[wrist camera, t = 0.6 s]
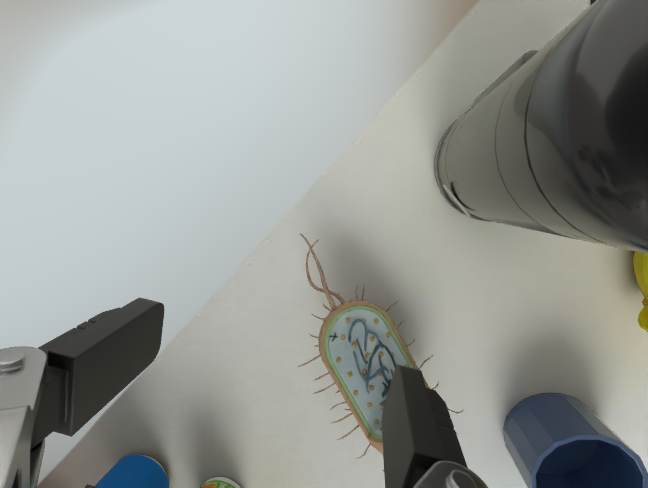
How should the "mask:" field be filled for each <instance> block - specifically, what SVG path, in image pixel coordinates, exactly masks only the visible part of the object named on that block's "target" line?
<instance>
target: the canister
mask: <svg viewBox="0 0 648 488" xmlns="http://www.w3.org/2000/svg"><path fill="white" fill-rule="evenodd" d="M504 441H505V445H506V447H507V449H508V451H509V453H510V455H511V457H512V459H513V461H514V463H515V465H516V466H517V468H518V470H519V472H520V474H521V476H522V478H523V479H524V481H525V483H526V485H527V487H528V488H648V472H647V470H646V468H645V466H644V464H643V462H642V460H641V458H640V457H639V455H638V454H636V453H635V452H634V451H633V450H632V449H631V448H630V447H629V446H628V445H627V444H626V443H625V442H624V441H623V440H622V439H621V438H620V437H619V436H618V435H617V434H616V433H615V432H614V431H613V430H612V429H611V428H610V427H609V426H608V425H607V424H606V423H605V422H604V421H603V420H601V419H600V418H599V417H598V416H597V415H596V414H595V413H594V412H593V411H592V410H590V409H589V408H588V407H587V406H586V405H585V404H584V403H582V402H581V401H579V400H577V399H575V398H573V397H571V396H568V395H564V394H559V393H543V394H538V395H534V396H531V397H529V398H527V399H525V400H523V401H522V402H520V403H519V404H518V405H516V406H515V408H514V409H513V410H512V411H511V412H510V414H509V415H508V417H507V419H506V422H505V426H504Z"/></svg>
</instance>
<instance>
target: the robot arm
mask: <svg viewBox="0 0 648 488" xmlns="http://www.w3.org/2000/svg"><path fill="white" fill-rule="evenodd" d="M591 3H592V5H591V6H589V7H588V8H587V9H586V10H585V11H584V12H583V13H581V14H580V15H579V16H578V17H577V18H576V19H575V20H574V21H573V22H571V23H570V24H569V25H568V26H567V27H566V28H564V29H563V30H562V31H561V32H560V33H559V34H557V35H556V36H555V37H554V38H553V39H552V40H551V41H549V42H548V43H547V44H546V45H545V46H544V47H543V48H542V49H541V50H539V51H529V52H527V53H525V54H524V55H523V56H522V57H521V58H520V59H519V60H517V61H516V62H515V63H514V64H513V65H512V66H511V67H510V68H509V69H508V70H507V71H506V72H504V73H503V74H502V75H501V76H500V77H499V78H498V79H497V80H496V81H495V82H494V83H492V84H491V85H490V86H489V87H488V88H487V89H486V90H485V91H484V92H483V93H482V94H481V95H479V96H478V97H477V98H476V100H475V102H474V105H473V107H472V109H470V110H469V111H467V112H466V113H464V114H463V115H462V116H460V117H459V118H458V119H457V120H456V121H455V122H454V123H453V124H452V125H451V126H450V127H449V128H448V129H447V131H446V132H445V134H444V135H443V137H442V139H441V141H440V143H439V146H438V148H437V152H436V156H435V177H436V181H437V184H438V187H439V189H440V191H441V193H442V195H443V196H444V198H445V199H446V200H447V202H448V203H449V204H450V205H451V206H452V207H453V208H455V209H456V210H457V211H459V212H461V213H462V214H464V215H466V216H469V217H471V218H475V219H479V220H484V221H494V222H498V223H503V224H508V225H512V226H517V227H522V228H526V229H531V230H536V231H541V232H545V233H550V234H555V235H559V236H564V237H569V238H573V239H578V240H583V241H588V242H592V243H597V244H602V245H607V246H611V247H616V248H621V249H625V250H631V251H635V252H640V253H644V254H648V0H591ZM163 318H164V305H163V304H162V303H159V302H155V301H152V300H148V299H143V298H138V299H136V300H134V301H132V302H131V303H129V304H127V305H126V306H124V307H122V308H116V309H113V310H109V311H105V312H102V313H100V314H98V315H97V316H95V317H93V318H91V319H89V320H88V322H84V323H82V324H80V325H78V326H77V328H73V329H71V330H70V331H68V332H66V333H64V334H62V335H61V336H59V337H57V338H55V339H53V340H51V341H50V342H48V343H46V344H44V345H42V346H41V347H39V348H33V347H11V348H5V349H1V350H0V488H37V483H38V478H39V472H40V468H41V463H42V458H43V453H44V448H45V437H47V436H48V435H49V434H50V433H52V432H53V431H54V432H58V433H61V434H65V435H68V436H73V435H74V434H75V433H76V432H77V431H78V430H79V429H80V428H81V427H82V426H83V425H84V424H86V423H87V422H88V421H89V420H90V419H91V418H92V417H93V416H94V415H96V414H97V413H98V412H99V411H100V410H101V409H102V408H103V407H104V406H105V405H106V404H107V403H109V401H111V400H112V399H113V398H114V397H115V396H116V395H117V394H118V393H119V392H121V391H122V390H123V389H124V388H125V387H126V386H127V385H128V384H129V383H130V382H131V381H132V380H134V379H135V378H136V377H137V376H138V375H139V374H140V373H141V372H142V371H143V370H144V369H146V368H147V367H148V366H149V365H150V364H151V363H152V362H153V361H154V359H155V358H156V356H157V354H158V351H159V348H160V344H161V335H162V327H163ZM453 428H454V426H453V424H452V421H451V419H450V415H449V412H448V409H447V406H446V403H445V402H444V401H443V399H442V398H441V397H440V396H439V394H438V393H437V392H436V391H435V390H432V389H428V388H426V386H425V382H424V379H423V375H422V372H421V370H418V369H414V368H410V367H406V366H402V365H399V364H398V365H397V366H396V368H395V371H394V374H393V377H392V381H391V384H390V387H389V391H388V394H387V397H386V401H385V404H384V408H383V413H382V441H383V457H384V472H385V488H488V487H487V486H486V484H485V483H484V482H483V481H482V480H481V479H480V478H479V477H478V476H477V475H476V474H475V473H474V472H472V471H471V470H470V469H468V468H467V465H466V462H465V459H464V456H463V453H462V450H461V447H460V444H459V441H458V438H457V435H456V432H455V430H454V429H453ZM85 488H97V487H94V486H91V485H86V487H85Z"/></svg>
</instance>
